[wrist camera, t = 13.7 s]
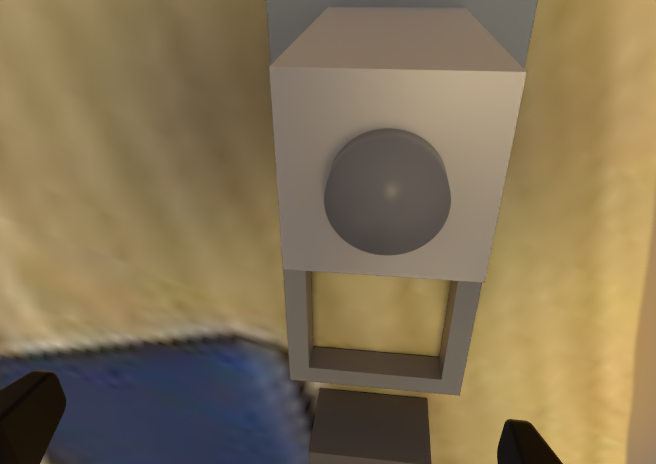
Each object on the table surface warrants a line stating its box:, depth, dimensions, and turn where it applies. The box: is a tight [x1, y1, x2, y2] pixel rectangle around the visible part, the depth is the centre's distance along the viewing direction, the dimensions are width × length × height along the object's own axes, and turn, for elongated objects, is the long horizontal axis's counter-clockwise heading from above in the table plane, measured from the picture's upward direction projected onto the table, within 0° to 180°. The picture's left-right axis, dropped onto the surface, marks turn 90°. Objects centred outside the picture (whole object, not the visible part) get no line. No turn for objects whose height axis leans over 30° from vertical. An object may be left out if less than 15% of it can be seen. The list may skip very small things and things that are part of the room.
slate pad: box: [267, 0, 538, 69], centre depth 18 cm, size 9×9×1 cm
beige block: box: [269, 7, 527, 283], centre depth 13 cm, size 5×5×10 cm
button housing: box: [309, 388, 431, 464], centre depth 27 cm, size 6×6×4 cm
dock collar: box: [283, 269, 482, 396], centre depth 23 cm, size 9×9×2 cm
